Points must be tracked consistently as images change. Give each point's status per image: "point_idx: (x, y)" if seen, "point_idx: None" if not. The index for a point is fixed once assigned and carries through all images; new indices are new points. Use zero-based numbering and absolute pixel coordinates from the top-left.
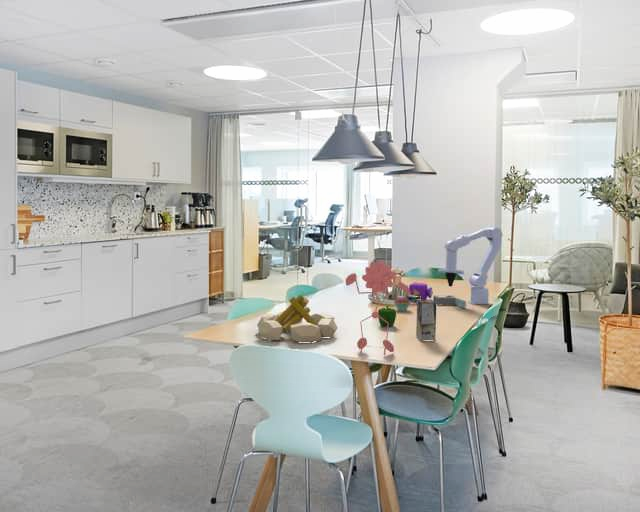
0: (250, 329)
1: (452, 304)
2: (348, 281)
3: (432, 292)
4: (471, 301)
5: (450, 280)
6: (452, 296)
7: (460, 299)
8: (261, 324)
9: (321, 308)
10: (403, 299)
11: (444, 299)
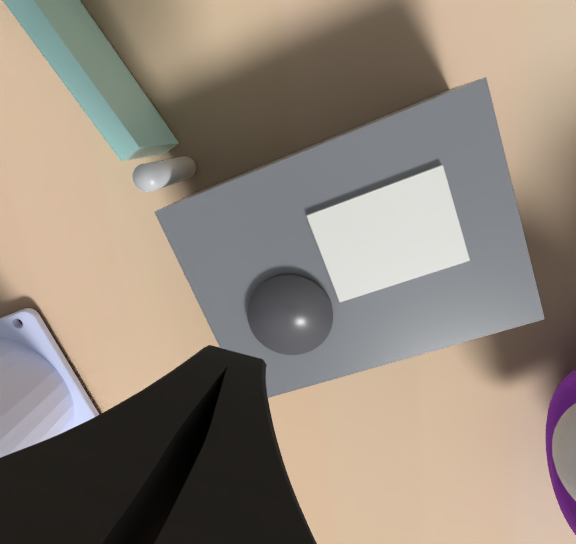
0: None
1: (236, 176)
2: None
3: (572, 447)
4: (46, 371)
5: (156, 435)
6: (237, 323)
7: (59, 63)
8: None
9: None
10: None
11: (344, 134)
